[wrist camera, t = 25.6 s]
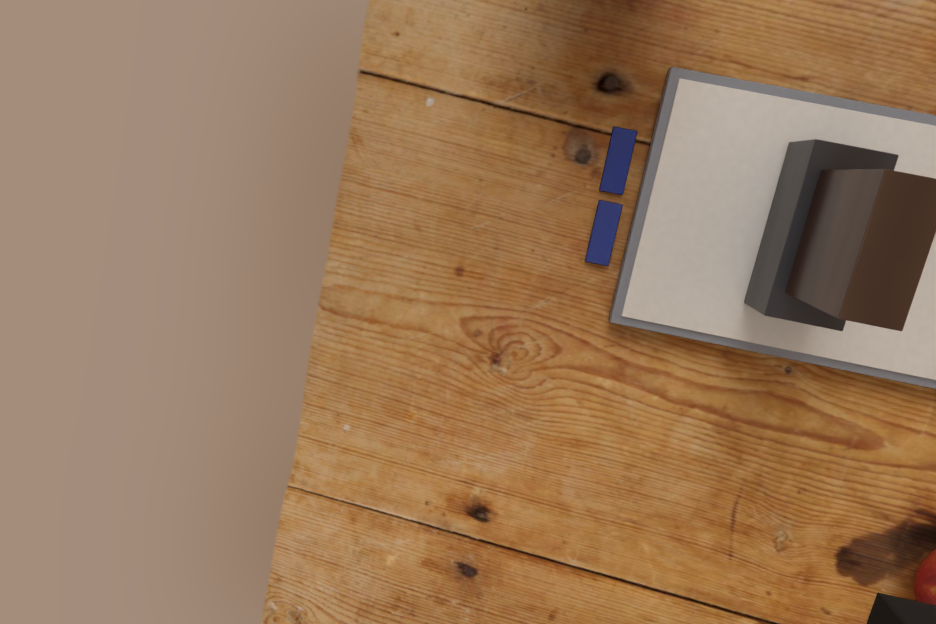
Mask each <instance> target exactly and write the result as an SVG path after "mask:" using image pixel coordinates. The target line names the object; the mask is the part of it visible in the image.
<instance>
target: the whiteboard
mask: <svg viewBox="0 0 936 624" xmlns="http://www.w3.org/2000/svg"><path fill="white" fill-rule="evenodd" d="M813 139H818V140H824V141H829V142H834V143H839V144H845V145H850V146H855V147H861V148H866V149H871V150H876V151H882V152H887V153H892V154H897V155H899V156H898V160H897V163H896V166H895V169H894V171H899V172H904V173H909V174H914V175H919V176H925V177H930V178H935V179H936V116H935V115H930V114H924V113H919V112H914V111H908V110H903V109H897V108H892V107H887V106H881V105H876V104H870V103H865V102H860V101H854V100H849V99H843V98H838V97H832V96H827V95H822V94H816V93H811V92H805V91H800V90H795V89H789V88H784V87H778V86H773V85H768V84H762V83H757V82H751V81H746V80H740V79H735V78H730V77H724V76H719V75H713V74H708V73H703V72H697V71H692V70H686V69H681V68H676V67H671V68H670V69H668V73H667V77H666V81H665V85H664V89H663V94H662V98H661V102H660V106H659V110H658V114H657V119H656V123H655V127H654V131H653V135H652V139H651V144H650V148H649V152H648V156H647V160H646V164H645V169H644V173H643V177H642V181H641V185H640V189H639V194H638V198H637V202H636V206H635V210H634V214H633V219H632V223H631V227H630V231H629V235H628V239H627V243H626V248H625V252H624V256H623V260H622V264H621V268H620V273H619V277H618V281H617V285H616V289H615V293H614V298H613V302H612V306H611V310H610V314H609V318H608V319H609V321H610V323H615V324H620V325H625V326H630V327H635V328H639V329H644V330H649V331H654V332H659V333H664V334H669V335H674V336H679V337H683V338H688V339H693V340H698V341H703V342H708V343H713V344H718V345H723V346H727V347H732V348H737V349H742V350H747V351H752V352H757V353H762V354H767V355H772V356H776V357H781V358H786V359H791V360H796V361H801V362H806V363H811V364H816V365H820V366H825V367H830V368H835V369H840V370H845V371H850V372H855V373H860V374H865V375H869V376H874V377H879V378H884V379H889V380H894V381H899V382H904V383H909V384H913V385H918V386H923V387H928V388H933V389H936V233H935V236H934V239H933V242H932V245H931V248H930V251H929V254H928V257H927V260H926V263H925V266H924V269H923V272H922V275H921V278H920V281H919V283H918V286H917V289H916V292H915V295H914V298H913V301H912V304H911V307H910V310H909V313H908V316H907V319H906V322H905V325H904V328H903V331H897V330H892V329H887V328H882V327H877V326H872V325H867V324H862V323H857V322H852V321H847V320H846V323H845V326H844V329H843V331H838V330H833V329H828V328H823V327H818V326H813V325H808V324H803V323H798V322H794V321H789V320H784V319H779V318H774V317H769V316H765V315H763V314H761V313H760V312H758V311H757V310H755V309H753V308H752V307H750V306H748V305H747V304H745V303H744V300H745V296H746V293H747V289H748V286H749V282H750V278H751V275H752V271H753V268H754V264H755V261H756V257H757V254H758V250H759V247H760V243H761V240H762V236H763V233H764V229H765V226H766V222H767V219H768V215H769V212H770V208H771V205H772V201H773V197H774V194H775V190H776V187H777V183H778V180H779V176H780V173H781V169H782V166H783V162H784V159H785V155H786V152H787V148H788V145H789V142H795V141H804V140H813Z"/></svg>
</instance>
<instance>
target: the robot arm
mask: <svg viewBox="0 0 936 624" xmlns="http://www.w3.org/2000/svg"><path fill="white" fill-rule="evenodd" d="M867 624H936V605H932V604H927V603H922V602H918V601H913V600H909V599H904V598H900V597H895V596H891V595H886V594H881V593H877V596H876V599H875V602H874V604H873V607H872V610H871V613H870V616H869V618H868V621H867Z"/></svg>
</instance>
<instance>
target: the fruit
mask: <svg viewBox="0 0 936 624" xmlns="http://www.w3.org/2000/svg"><path fill="white" fill-rule="evenodd" d="M914 593H915V596H916V599H917V601H918V602H922V603H927V604H932V605H936V549H935V550H934V551H932V552H931V553H930V554H929V555H928V556H927V557H926V558H925V559H924V560H923V561H922V562H921V563H920V565H919V567H918V569H917V572H916V574H915V580H914Z"/></svg>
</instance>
